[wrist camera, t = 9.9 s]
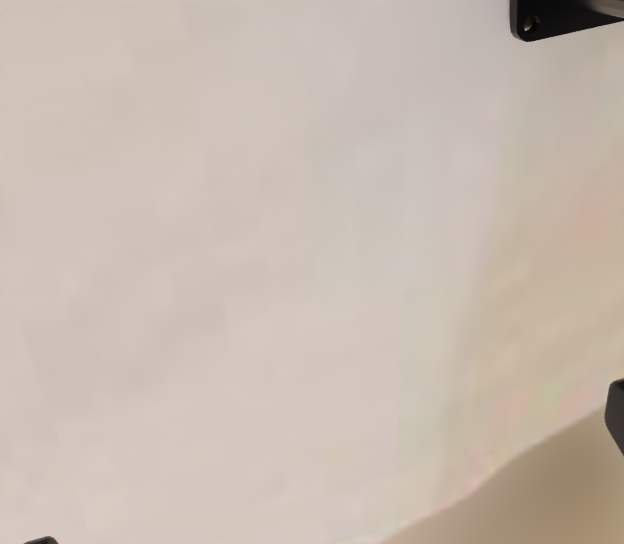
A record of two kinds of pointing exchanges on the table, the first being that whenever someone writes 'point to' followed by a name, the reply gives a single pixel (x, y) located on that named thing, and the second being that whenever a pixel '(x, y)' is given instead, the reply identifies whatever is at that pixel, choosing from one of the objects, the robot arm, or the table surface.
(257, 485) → the table surface
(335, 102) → the table surface
